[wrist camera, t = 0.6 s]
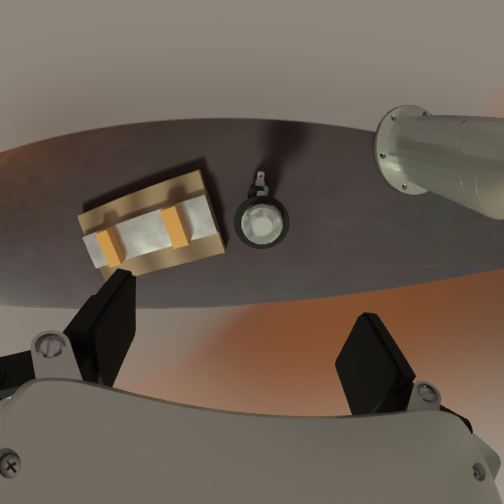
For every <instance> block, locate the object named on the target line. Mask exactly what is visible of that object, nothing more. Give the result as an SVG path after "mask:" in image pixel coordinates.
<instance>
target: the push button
mask: <svg viewBox="0 0 504 504" xmlns="http://www.w3.org/2000/svg"><path fill="white" fill-rule="evenodd" d="M264 174H265V173H264V172H260V171H258V173H257V180H256V182H255V184H253V185H250V198H249V199H248V197H247V200H246V201H244V202H243V203H242V204H241V205H240V206H239V208H238V209H237V211H236V214H235V218H234V228H235V231H236V234H237V236H238V237H239V239H240V240H241V241H242V242H243V243H245V244H246V245H248V246H250V247H252V248H256V249H267V248H271V247H273V246H275V245H277V244H278V243H280V242H281V241H282V240H283V239H284V237H285V236H286V234H287V232H288V229H289V215H288V212H287V210H286V208H285V207H284V206H283V204H282V203H281V202H279V201H278V200H277V199H275V198H273V197H270V196H268V186H267V185H265V182H264ZM260 175H262V177H259V176H260ZM273 205H274V206H275V207H277V208H278V209H279V211H280V212H281V215H282V217H281V215H280V213H279V212H278V211H277V210H276V209H275V208H274V207H273ZM245 209H246V211H245ZM244 211H245V214H244V215H243V217H242V223H241V216H242V214H243V212H244Z"/></svg>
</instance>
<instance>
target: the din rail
mask: <svg viewBox="0 0 504 504" xmlns="http://www.w3.org/2000/svg"><path fill="white" fill-rule="evenodd" d="M177 203H178V205H179V208H180V211H181V214H182V217H183V220H184V222H185V225H186V228H187V231H188V234H189V236H190V239H191V240H195V239H198V238H202V237H206V236H209V235H213V234H217V233H218V230H217V227H216V223H215V220H214V217H213V214H212V211H211V208H210V205H209V202H208V199H207V196H206V194H203V195H200V196H196V197H193V198H190V199H187V200H183V201H180V202H177ZM177 203H174V204H177ZM174 204H171V205H174ZM171 205H168V206H171ZM168 206H165V207H168ZM165 207H162V208H159V209H156V210H153V211H150V212H147V213H144V214H141V215H138V216H136V217H133V218H130V219H127V220H124V221H122V222H119V223H116V224H113V225H111V226H108V227H112V229H113V232H114V234H115V237H116V239H117V241H118V244H119V246H120V249H121V251H122V253H123V255H124V258H125V260H126V259H129V258H132V257H136V256H139V255H142V254H146V253H149V252H153V251H156V250H160V249H163V248H167V247H170V246H172V243H171V241H170V238H169V235H168V233H167V230H166V227H165V225H164V222H163V219H162V216H161V214H160V210H162V209H163V208H165ZM108 227H105V228H108ZM105 228H103V229H105ZM103 229H100V230H103ZM100 230H98V231H95V232H92V233H90V234H87V235H85V236H84V237H82V238H83V240H84V243H85V245H86V247H87V250H88V252H89V254H90V256H91V259H92V261H93V263H94V265H95V267H96V268H99V267H102V266H106V265H108V263H107V261H106V258H105V256H104V254H103V252H102V249H101V247H100V245H99V242H98V240H97V238H96V235H95V234H96V233H97V232H99V231H100Z"/></svg>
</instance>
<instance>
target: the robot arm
mask: <svg viewBox="0 0 504 504" xmlns="http://www.w3.org/2000/svg"><path fill="white" fill-rule="evenodd" d="M391 117H392V119H391ZM374 152H375V159H376V162H377V165H378V168H379V170H380V172H381V174H382V175H383V177H384V178H385V180H386V181H387V182H388V183H389V184H390V185H391V186H392V187H394V188H396V189H397V190H399V191H401V192H403V193H407V194H416V195H418V194H422V193H425V192H427V191H431V192H434V193H436V194H439V195H441V196H443V197H446V198H448V199H450V200H453V201H455V202H457V203H459V204H462V205H464V206H466V207H468V208H470V209H472V210H475V211H477V212H479V213H481V214H483V215H485V216H488V217H490V218H493V219H504V118H496V117H480V116H445V115H439V116H433V115H431V114H430V113H429V112H428V111H426V110H424V109H422V108H420V107H417V106H411V105H406V106H400V107H397V108H394V109H392V110H391V111H389V112H388V113H387V114H386V115H385V116H384V117H383V118H382V120H381V121H380V123H379V125H378V128H377V130H376V134H375V139H374ZM380 154H381V157H380ZM402 185H403V187H402ZM135 311H136V276H134V275H132V272H131V271H129V270H124V269H120V268H117V269H116V270H115V272H114V273H113V274H112V275H111V276H110V278H109V279H108V280H107V281H106V283H105V284H104V285H103V286H102V287H101V289H100V290H99V291H98V292H97V294H96V295H92V296H91V297H90V298H89V299H88V300H87V301H86V303H85V304H84V305H83V306H82V308H81V309H80V310H79V312H78V313H77V314H76V316H75V317H74V318H73V319H72V321H71V322H70V323H69V325H68V326H67V327H66V329H65V330H64V331H63V333H61V332H59V331H54V330H51V331H50V330H49V331H44V332H41V333H40V334H38V335H36V336H35V337H34V339H33V340H32V342H31V350H29V351H25V352H21V353H17V354H12V355H8V356H3V357H0V504H502V502H501V498H500V496H499V492H498V490H497V487H496V485H495V482H494V480H495V478H496V475H497V473H498V471H499V468H500V465H501V461H500V458H499V456H498V454H497V453H496V452H495V451H494V450H493V449H491V448H490V447H489V446H488V445H487V444H486V443H485V442H484V441H483V440H481V439H480V438H479V437H478V436H477V435H476V434H474V435H473V436H472V434H473V430H472V426H471V423H470V422H469V421H468V420H467V419H466V418H464V417H462V416H460V415H458V414H456V413H455V412H453V411H451V410H449V409H447V408H445V407H444V406H442V405H440V402H441V396H440V393H439V391H438V390H437V389H436V387H434V385H432V384H430V383H429V382H426V381H418V382H416V383H415V384H414V383H413V382H412V381H413V380H414V378H415V377H416V375H415V374H414V372H413V370H412V368H411V367H410V365H409V364H408V362H407V360H406V359H405V357H404V355H403V354H402V352H401V350H400V349H399V347H398V346H397V344H396V343H395V341H394V339H393V338H392V336H391V335H390V333H389V332H388V330H387V329H386V327H385V326H384V324H383V323H382V321H381V320H380V318H379V317H378V315H377V314H374V313H366V312H365V313H363V314H362V315H360V316H359V317H358V318H357V320H356V323H355V325H354V327H353V329H352V331H351V333H350V335H349V337H348V339H347V340H346V342H345V344H344V346H343V348H342V350H341V352H340V354H339V356H338V357H337V359H336V363H335V366H336V370H337V373H338V376H339V378H340V381H341V384H342V387H343V390H344V393H345V395H346V398H347V401H348V404H349V407H350V410H351V413H352V415H347V416H346V415H345V416H287V415H269V414H256V413H245V412H236V411H227V410H219V409H212V408H205V407H199V406H193V405H188V404H182V403H177V402H172V401H167V400H163V399H158V398H153V397H149V396H144V395H140V394H136V393H132V392H128V391H124V390H121V389H117V388H113V387H112V386H113V384H114V381H115V379H116V377H117V374H118V372H119V370H120V367H121V365H122V363H123V361H124V358H125V356H126V354H127V351H128V349H129V347H130V345H131V343H132V341H133V338H134V336H135V331H136V314H135V313H136V312H135Z"/></svg>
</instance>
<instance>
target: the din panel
mask: <svg viewBox="0 0 504 504" xmlns="http://www.w3.org/2000/svg"><path fill="white" fill-rule="evenodd" d="M203 194H206V196H207V199H208V202H209V205H210V208H211V211H212V214H213V217H214V220H215V223H216V227H217V230H218V233H217V234H213V235H209V236H206V237H202V238H198V239H195V240H191V242H190V243H189V245H187V246H183V247H180V248H176V249H174V248H173V246H170V247H167V248H163V249H160V250H156V251H153V252H149V253H146V254H142V255H139V256H136V257H132V258H129V259H126V260H124V262H123V263H122V264H120V265H117V266H114V267H109V265H106V266H102V267H99V268H100V270H101V273H102V275H103V277H104V279H105V281H107V280H108V279H109V278H110V276H111V275H112V274H113V273H114V272H115V270H116V269H117V268H120V269H124V270H129V271H131V272H132V275H134V276H137V275H141V274H144V273H148V272H152V271H156V270H160V269H164V268H167V267H171V266H175V265H179V264H183V263H186V262H190V261H194V260H198V259H202V258H206V257H209V256H213V255H217V254H221V253H225V250H226V247H225V244H224V241H223V238H222V235H221V232H220V228H219V225H218V222H217V219H216V216H215V213H214V210H213V207H212V204H211V200H210V197H209V194H208V191H207V188H206V185H205V181H204V178H203V175H202V172H201V169H199V170H196V171H192V172H189V173H186V174H183V175H180V176H177V177H174V178H171V179H168V180H166V181H163V182H160V183H157V184H154V185H152V186H149V187H146V188H143V189H141V190H138V191H136V192H133V193H130V194H128V195H125V196H123V197H120V198H118V199H115V200H113V201H110V202H108V203H106V204H103V205H101V206H99V207H96V208H94V209H92V210H89V211H87V212H85V213H83V214H81V215H79V216H77V217H78V219H79V222H80V224H81V227H82V229H83V232H84V234H85V235H87V234H90V233H92V232H95V231H98V230H100V229H103V228H105V227H108V226H111V225H113V224H116V223H119V222H122V221H124V220H127V219H130V218H133V217H136V216H138V215H141V214H144V213H147V212H150V211H153V210H156V209H159V208H162V207H165V206H168V205H171V204H174V203H177V202H180V201H183V200H187V199H190V198H193V197H196V196H200V195H203Z"/></svg>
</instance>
